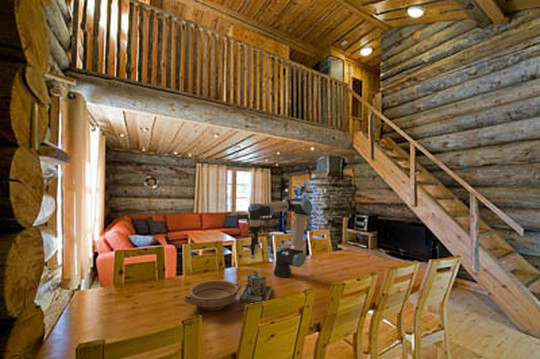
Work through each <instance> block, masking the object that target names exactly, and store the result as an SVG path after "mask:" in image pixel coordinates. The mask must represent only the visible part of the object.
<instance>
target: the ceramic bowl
mask: <svg viewBox="0 0 540 359" xmlns="http://www.w3.org/2000/svg"><path fill="white" fill-rule="evenodd" d="M241 289H242V284H240V282H236V283H233V282H232V281H228V280H222V279H221V280H220V279H218V280H217V279H216V280H215V279H213V280H205V281H202V282H200V283H196V284H194V285H193V286H192V287H191V288H190V289H189V296H188V295H187V296H186V295H185V296H183V297H182V300H183V302H184V303H187V304H190V305H195V306H197V307H199V308H202V309H204V310H206V311H211V312H212V311H219V310H222V309H224V308H225V307H227V306H228V305H230V304H232V303H233V302H234V301H235V300H236V298H237V297H238V296H237V295H238V293H239V291H240V290H241Z"/></svg>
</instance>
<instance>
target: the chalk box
mask: <svg viewBox="0 0 540 359" xmlns="http://www.w3.org/2000/svg"><path fill="white" fill-rule="evenodd" d="M266 280H267V279H266V276H265V275H263V274H261V273H258V271H256V270H253V274H248V275H247V284H248V289H247V293H249V294H250V295H251V296H261V295H265V283H266V282H267V281H266Z"/></svg>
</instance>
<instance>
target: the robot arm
mask: <svg viewBox="0 0 540 359" xmlns="http://www.w3.org/2000/svg"><path fill="white" fill-rule="evenodd" d="M247 211H248V213H249V220H248V222H249V232H251V238H250V239H251V240H250V248H249V250H250V260H256V255H257V254H258V253H259V245H260V243H259V232H261V218H262V217H270V216H273V215H274V213H275V212H291V213H294V216H295V219H294V225H293V233H292V240H291V246H289V245H288V246H287V245H286V246H278V247H276V249H275V251H276V252H275V266H274V269H273V276H275V277H277V278H285V279H286V278H290V277H291V276H292V269H291V266H292V267H295V268H301V267H302V266H303V265H304V264H305V261H306V257H307V256H306V254H305V253H304V248H303V243H304V236H305V227H306V222H307V218H308V217H309V214H311V213H312V212H313V204H312V202H311V200H309V199H307V198H290V199H283V200H281V201H276V202H265V203H260V202H259V203H258V202H255V203H253V202H252V203H250V204H249V206H248V207H247Z"/></svg>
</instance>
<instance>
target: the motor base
mask: <svg viewBox="0 0 540 359" xmlns="http://www.w3.org/2000/svg"><path fill="white" fill-rule="evenodd" d="M247 289H248V283H246V285H245V286H244V288H243V289H242V292H241V293H240V295H239V300H238V301H239V303H246V304H247V303H249V304H255V303H254V302H262V301H267V300H269V301H270V298H271V296H272V295H271V294H272V291H273V286H272V285H267V281H266V283H265V295H261V296H251V295H250V294H249V293H247ZM250 302H251V303H250Z"/></svg>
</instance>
